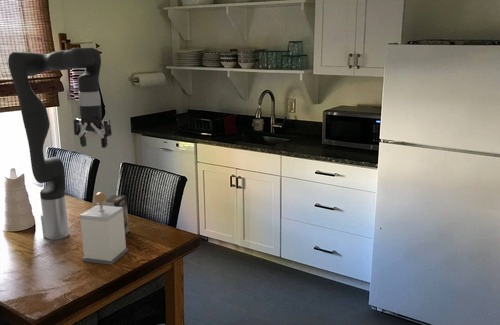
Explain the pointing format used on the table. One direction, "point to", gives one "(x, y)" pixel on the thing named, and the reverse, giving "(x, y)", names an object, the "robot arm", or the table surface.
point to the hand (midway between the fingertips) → (94, 146)
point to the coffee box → (119, 202)
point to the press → (103, 234)
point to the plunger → (100, 199)
